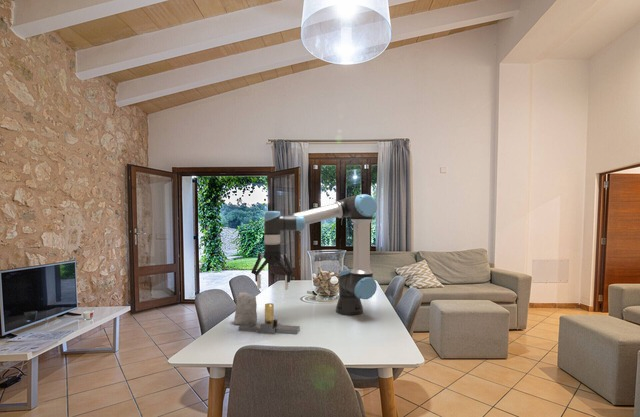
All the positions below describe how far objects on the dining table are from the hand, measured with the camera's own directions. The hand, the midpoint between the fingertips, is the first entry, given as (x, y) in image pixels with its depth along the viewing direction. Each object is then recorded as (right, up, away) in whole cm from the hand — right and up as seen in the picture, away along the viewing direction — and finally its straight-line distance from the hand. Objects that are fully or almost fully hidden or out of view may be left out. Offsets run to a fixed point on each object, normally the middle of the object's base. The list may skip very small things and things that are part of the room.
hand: (272, 289), depth 151 cm
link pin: (-1, -19, -2) cm, 19 cm away
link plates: (-1, -19, -2) cm, 19 cm away
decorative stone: (-15, -19, +8) cm, 26 cm away
